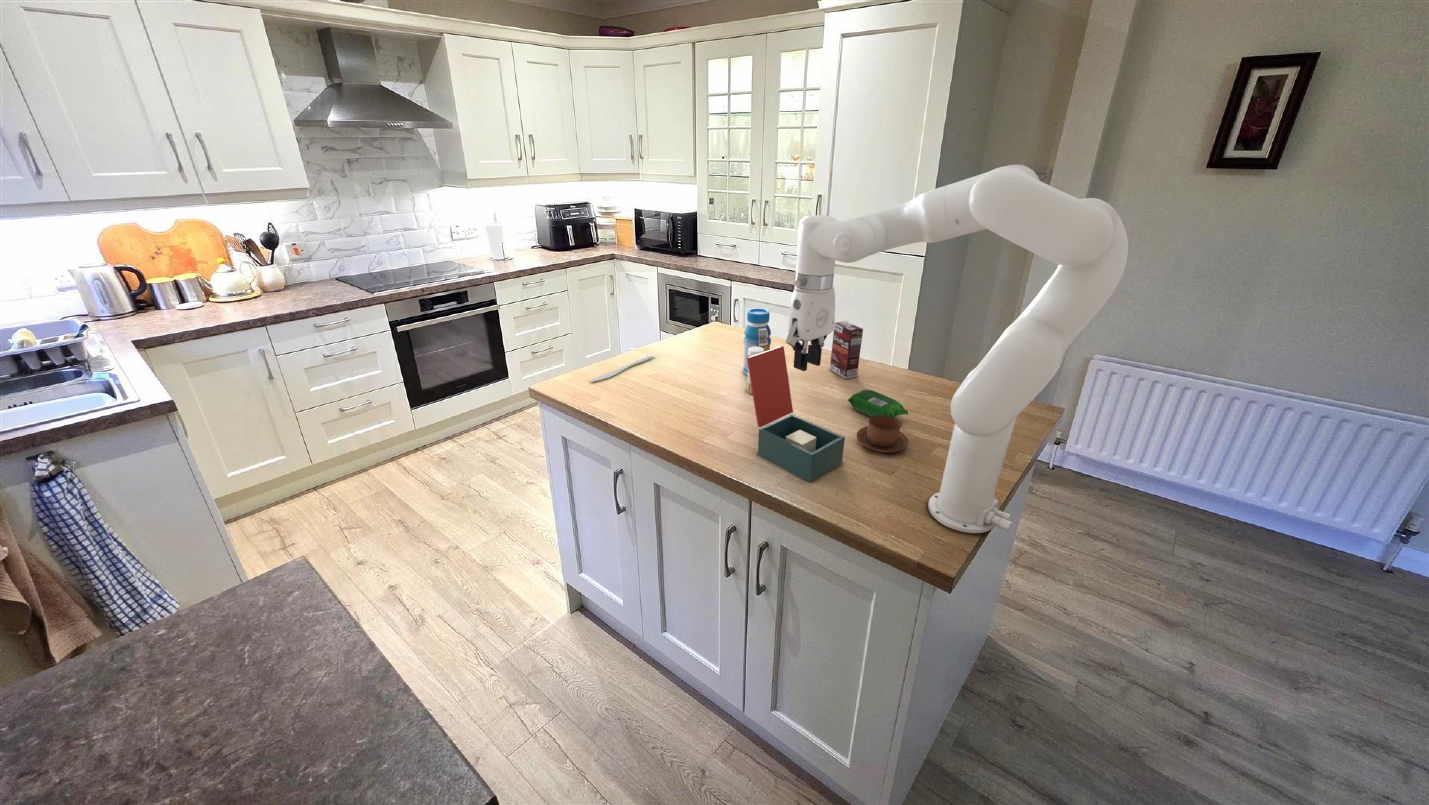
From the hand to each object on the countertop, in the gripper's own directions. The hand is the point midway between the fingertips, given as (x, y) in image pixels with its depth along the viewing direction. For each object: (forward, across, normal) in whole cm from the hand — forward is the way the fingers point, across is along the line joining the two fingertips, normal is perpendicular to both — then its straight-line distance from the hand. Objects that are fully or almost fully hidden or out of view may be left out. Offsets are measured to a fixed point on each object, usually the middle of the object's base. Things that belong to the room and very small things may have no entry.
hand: (806, 365), depth 117 cm
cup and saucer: (+23, +20, -9) cm, 32 cm away
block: (+22, 0, 0) cm, 22 cm away
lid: (+8, 0, +10) cm, 12 cm away
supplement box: (+23, +50, +24) cm, 60 cm away
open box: (+23, 0, 0) cm, 23 cm away
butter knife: (+23, 0, +73) cm, 76 cm away
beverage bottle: (+23, +30, +43) cm, 57 cm away
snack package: (+23, +33, +1) cm, 41 cm away
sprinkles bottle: (+23, +19, +33) cm, 45 cm away
